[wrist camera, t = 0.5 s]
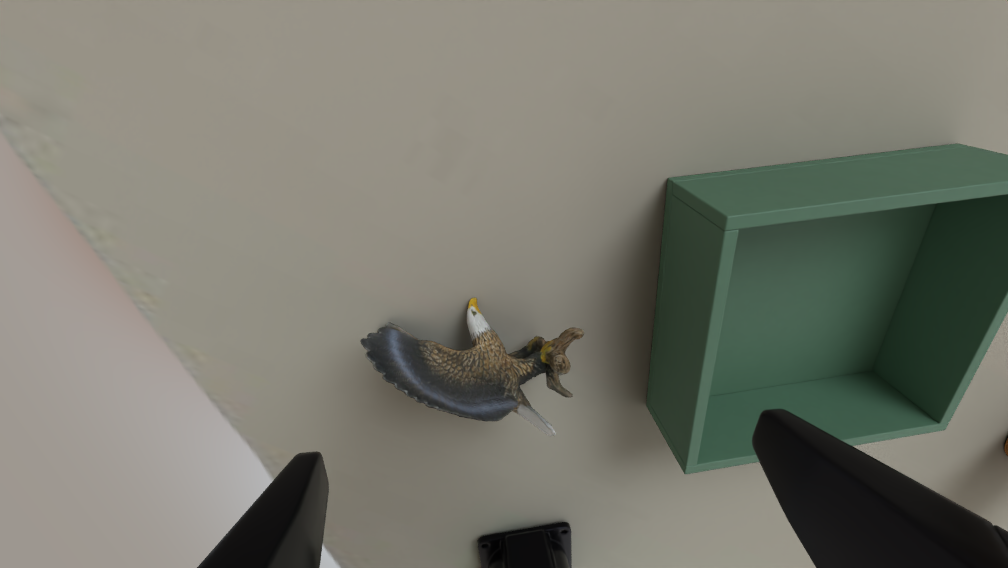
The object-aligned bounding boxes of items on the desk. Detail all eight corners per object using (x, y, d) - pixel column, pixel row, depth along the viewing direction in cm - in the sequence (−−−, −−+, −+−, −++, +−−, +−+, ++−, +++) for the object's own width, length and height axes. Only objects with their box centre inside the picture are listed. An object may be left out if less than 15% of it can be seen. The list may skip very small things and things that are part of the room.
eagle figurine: (555, 250, 22) (350, 283, 19) (613, 402, 18) (378, 463, 16) (522, 320, 28) (367, 351, 26) (562, 440, 25) (389, 488, 23)
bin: (869, 370, 30) (945, 430, 26) (645, 405, 29) (684, 475, 24) (957, 143, 23) (1082, 171, 19) (667, 177, 22) (726, 216, 17)
